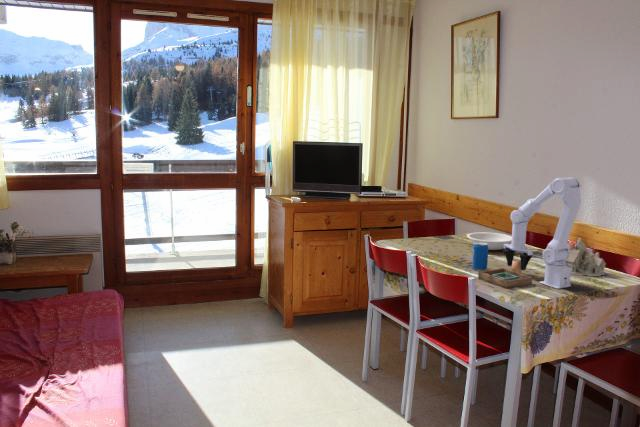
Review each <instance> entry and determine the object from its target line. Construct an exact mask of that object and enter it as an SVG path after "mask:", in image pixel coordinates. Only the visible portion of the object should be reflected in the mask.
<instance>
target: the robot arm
mask: <svg viewBox="0 0 640 427" xmlns="http://www.w3.org/2000/svg"><path fill="white" fill-rule="evenodd" d="M581 187H582V184H581V183H580V181H579V180H578V179H577V178H576V177H575V176H568V177H557V178H554V180H553V181H551V182H549V184H548V185H547V187H546V188H544V189H543V190H542V191H541V192H540V193H539V194H538V195H537V196H536V197H535V198H528V199H526V202H525V203H524V204H523V205H520V206H519V207H518V209H513V210H512V211H511V213H510V221H511V222H512V227H511V228H512V229H511V236H512V241H511V243H510V244H504V248H503V249H502V250H503V254H504V256H505V258H506V259H505V260H506V263H507V267H512V260H514V257H515V253H516V252H517V253H521V254H519V260H521V271H526V269H527V266H528V264H529V263H530V260H531V259H532V258H533V255H534V251H533V249H530V248H527V247H526V242H527V240H526V239H527V227H528V223H529V221H530V220H531V217H532V216H534V215H535V214H536V213H537V212H538V211H539V210H541V209H542V204H544V203H545V202H546V201H548V200H550V199H551V198H552V197H553V196H555V195H556V196H558V198H560V199H561V200H562V201H563V203H564V205H563V207H562V211H561V214H560V216H559V220H558V223H557V226H556V228H555V231H554V235H553V238H552V239H551V240H550V242H549V243H547V246H546V248H545V249H544V250H543V251H542V253H541V254H542V256H541V257H542V259H543V261H544V263H545V267H544V279H543V280H540V281H539V284H542V285H545V286H548V287H551V288H555V289H558V290H559V289H564V288H569V287H572V285H571V279H572V278H571V276H572V275H571V270H570V268H569V267H567V266H566V265H565V262H566V260H567V259H568V257H569V248H570V246H569V245H568V244H569V243H568V241H569V238H570V236H571V233H572V229H573V227H574V224H575V220H576V218H577V215H578V212H579V209H580V207H581V203H582V198H581V192H580V191H581V189H582V188H581Z"/></svg>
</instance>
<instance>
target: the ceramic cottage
mask: <svg viewBox="0 0 640 427" xmlns="http://www.w3.org/2000/svg"><path fill="white" fill-rule="evenodd" d="M568 245H569V246H570V248H569V257H568V259H567V260H566V262H565V265H566V266H567V267H569V268H570V270H571V276H580V275H588V276H587V277H592V276H599V277H602V276H601V275H603V276H605V267H606V265H607V263H606V262H605V260H604V259H603V258H602V257H601V258H600V252H597V251H596V253H593V252H592V251H588V248H587V246H586V244H585V243H584V242H583V241H582V238H581V237H578V238H577V242H576V245H575V246H574V247H573V244H572V243H568Z"/></svg>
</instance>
